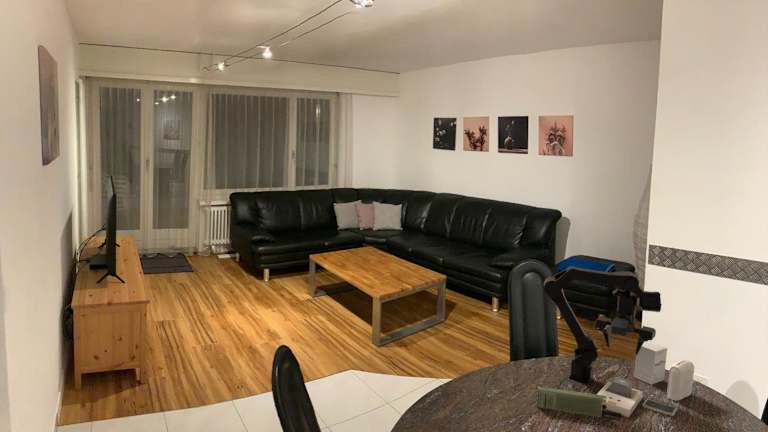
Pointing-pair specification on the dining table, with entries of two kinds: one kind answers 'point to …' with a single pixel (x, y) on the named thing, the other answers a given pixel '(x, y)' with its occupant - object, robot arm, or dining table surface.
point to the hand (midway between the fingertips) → (622, 351)
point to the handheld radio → (573, 402)
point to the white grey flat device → (620, 400)
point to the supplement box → (650, 363)
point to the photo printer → (680, 380)
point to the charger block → (621, 387)
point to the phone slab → (659, 407)
